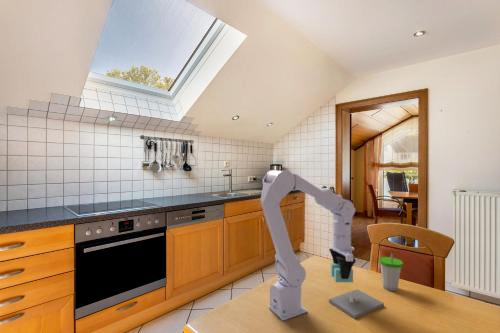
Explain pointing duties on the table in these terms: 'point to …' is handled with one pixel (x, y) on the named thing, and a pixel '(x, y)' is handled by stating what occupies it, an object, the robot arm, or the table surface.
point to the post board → (356, 303)
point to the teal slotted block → (336, 273)
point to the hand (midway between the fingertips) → (341, 274)
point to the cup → (390, 272)
